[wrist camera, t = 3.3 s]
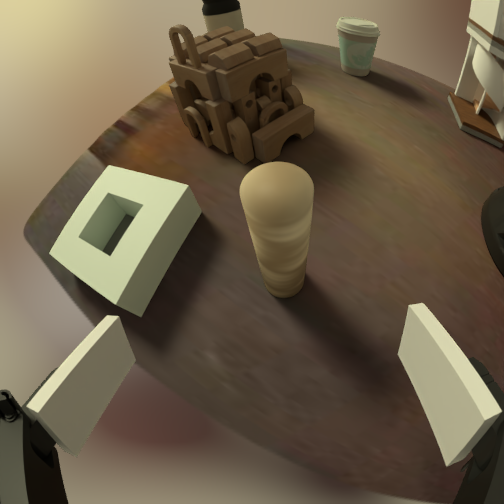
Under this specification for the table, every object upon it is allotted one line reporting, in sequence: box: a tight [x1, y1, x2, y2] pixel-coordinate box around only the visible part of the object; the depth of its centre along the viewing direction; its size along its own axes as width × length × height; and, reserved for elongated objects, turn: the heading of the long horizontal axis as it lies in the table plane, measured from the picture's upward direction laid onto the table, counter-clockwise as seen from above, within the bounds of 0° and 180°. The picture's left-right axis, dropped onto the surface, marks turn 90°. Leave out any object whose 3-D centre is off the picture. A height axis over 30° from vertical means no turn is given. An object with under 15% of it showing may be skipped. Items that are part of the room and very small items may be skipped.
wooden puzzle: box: [169, 25, 314, 164], centre depth 31 cm, size 22×15×19 cm, turn 41°
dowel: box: [240, 162, 314, 298], centre depth 21 cm, size 4×4×14 cm
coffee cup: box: [336, 17, 380, 76], centre depth 38 cm, size 8×8×12 cm
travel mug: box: [202, 0, 244, 32], centre depth 43 cm, size 8×8×18 cm
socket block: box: [49, 165, 202, 317], centre depth 29 cm, size 14×14×5 cm
